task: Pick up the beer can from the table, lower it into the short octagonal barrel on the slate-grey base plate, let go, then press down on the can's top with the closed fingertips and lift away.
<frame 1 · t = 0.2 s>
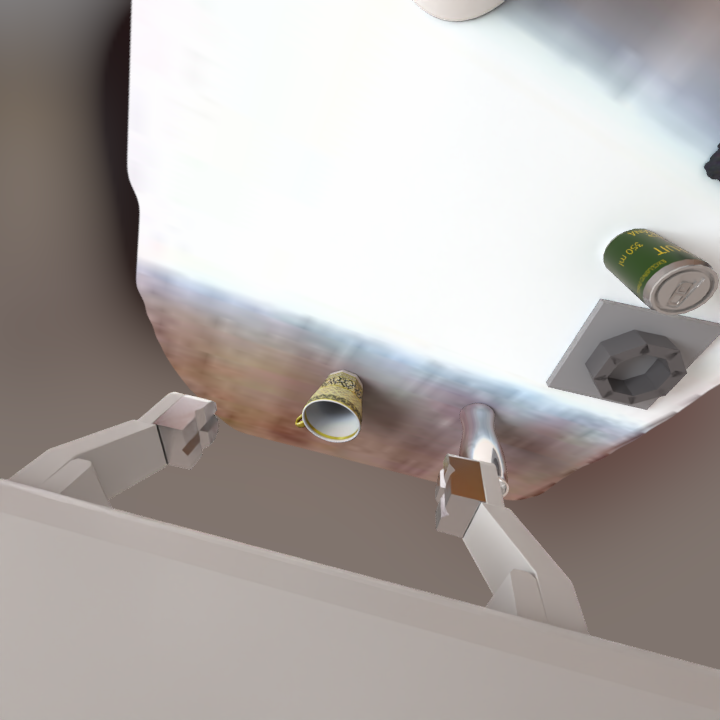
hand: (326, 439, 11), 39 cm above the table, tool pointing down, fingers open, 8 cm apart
ceramic cup: (338, 384, 63), on the table
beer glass: (476, 414, 60), on the table
beer can: (626, 249, 40), on the table
barrel holder: (623, 356, 48), on the table
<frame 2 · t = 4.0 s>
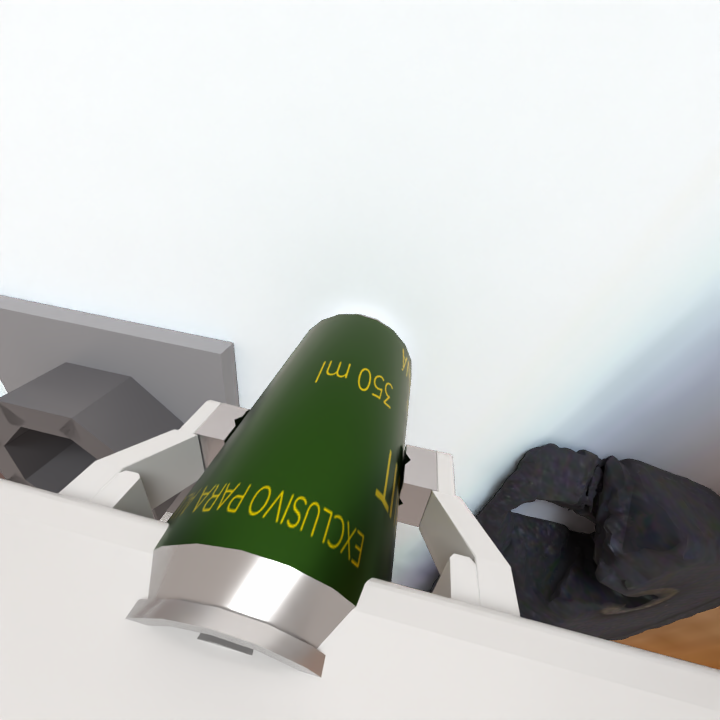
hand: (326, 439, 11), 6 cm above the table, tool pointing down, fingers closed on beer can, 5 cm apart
beer can: (358, 357, 16), on the table, touching gripper
barrel holder: (135, 420, 22), on the table
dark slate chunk: (545, 565, 22), on the table
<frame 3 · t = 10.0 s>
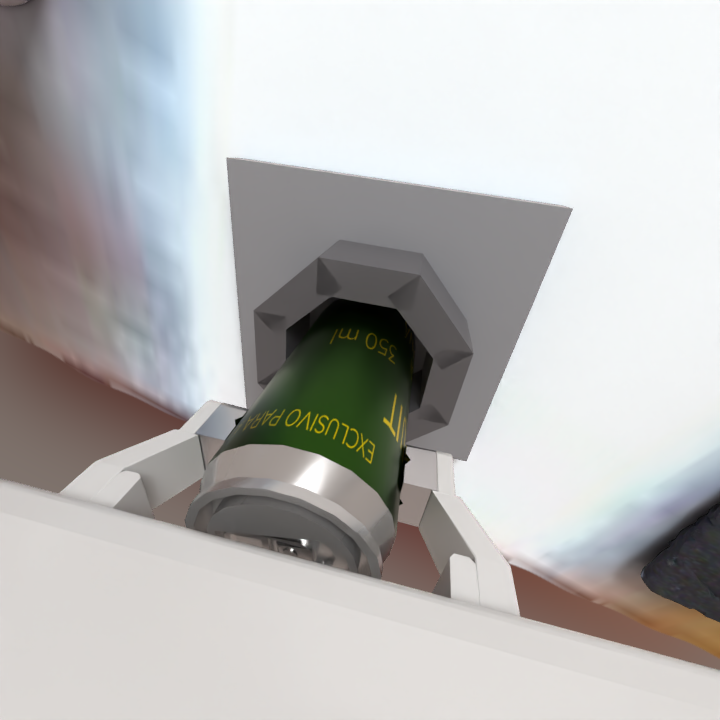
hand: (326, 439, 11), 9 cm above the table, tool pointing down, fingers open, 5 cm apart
beer can: (367, 335, 18), point 1 cm above the table, touching barrel holder
barrel holder: (371, 327, 19), on the table
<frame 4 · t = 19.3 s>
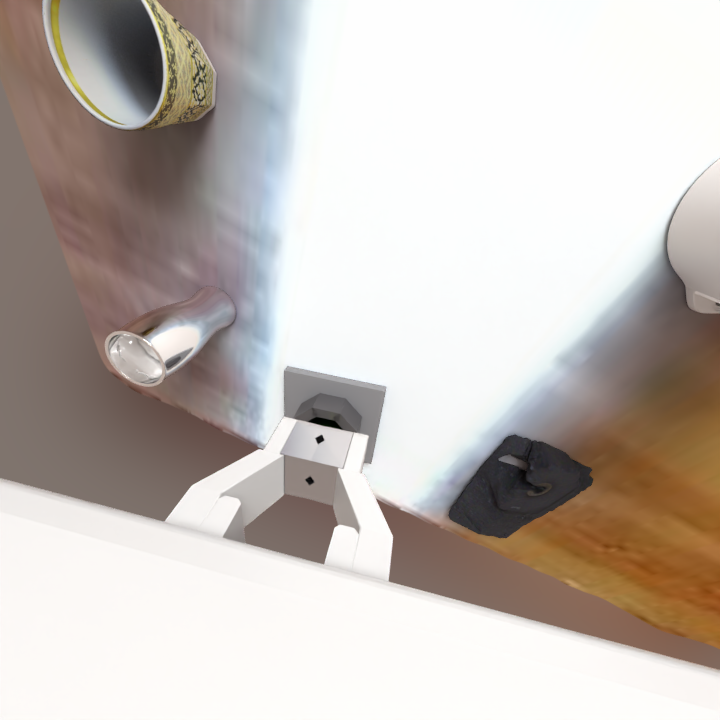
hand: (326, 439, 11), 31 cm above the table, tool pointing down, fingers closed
ceramic cup: (179, 62, 33), on the table
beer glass: (216, 306, 47), on the table
barrel holder: (332, 415, 52), on the table
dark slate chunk: (509, 486, 54), on the table
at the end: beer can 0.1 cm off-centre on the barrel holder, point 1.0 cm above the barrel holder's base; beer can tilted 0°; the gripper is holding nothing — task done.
